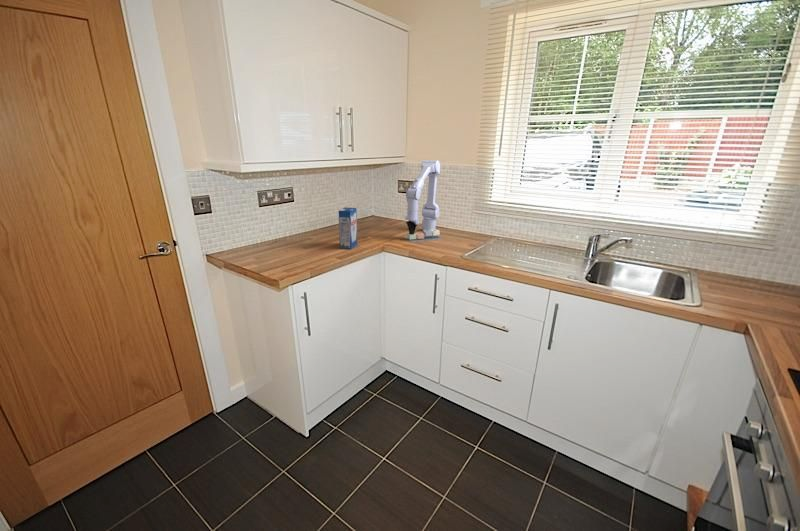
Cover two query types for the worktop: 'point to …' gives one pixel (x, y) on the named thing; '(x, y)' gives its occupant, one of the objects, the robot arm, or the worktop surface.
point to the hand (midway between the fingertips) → (411, 234)
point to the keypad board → (425, 238)
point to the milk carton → (348, 228)
